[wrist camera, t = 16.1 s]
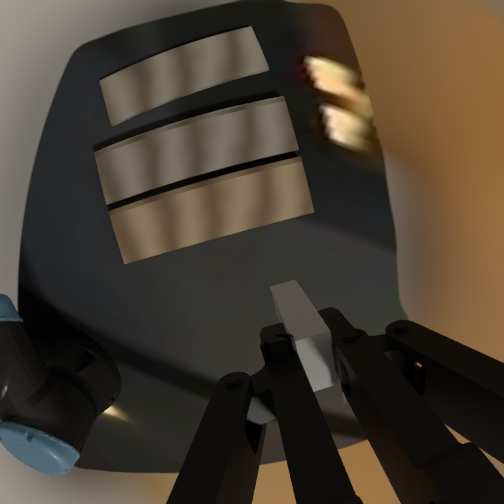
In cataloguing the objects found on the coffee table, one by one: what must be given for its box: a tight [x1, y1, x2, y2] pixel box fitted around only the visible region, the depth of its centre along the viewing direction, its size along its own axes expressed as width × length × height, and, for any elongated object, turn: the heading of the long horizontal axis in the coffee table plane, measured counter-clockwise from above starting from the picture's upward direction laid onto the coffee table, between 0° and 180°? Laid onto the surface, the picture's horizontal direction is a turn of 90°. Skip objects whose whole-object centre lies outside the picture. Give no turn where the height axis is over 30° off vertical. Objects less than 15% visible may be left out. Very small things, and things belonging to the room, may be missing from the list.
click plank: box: [94, 96, 299, 204], centre depth 40 cm, size 28×8×1 cm, turn 105°
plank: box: [100, 27, 269, 126], centre depth 37 cm, size 24×8×1 cm, turn 109°
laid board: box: [108, 156, 314, 264], centre depth 41 cm, size 28×8×1 cm, turn 105°
